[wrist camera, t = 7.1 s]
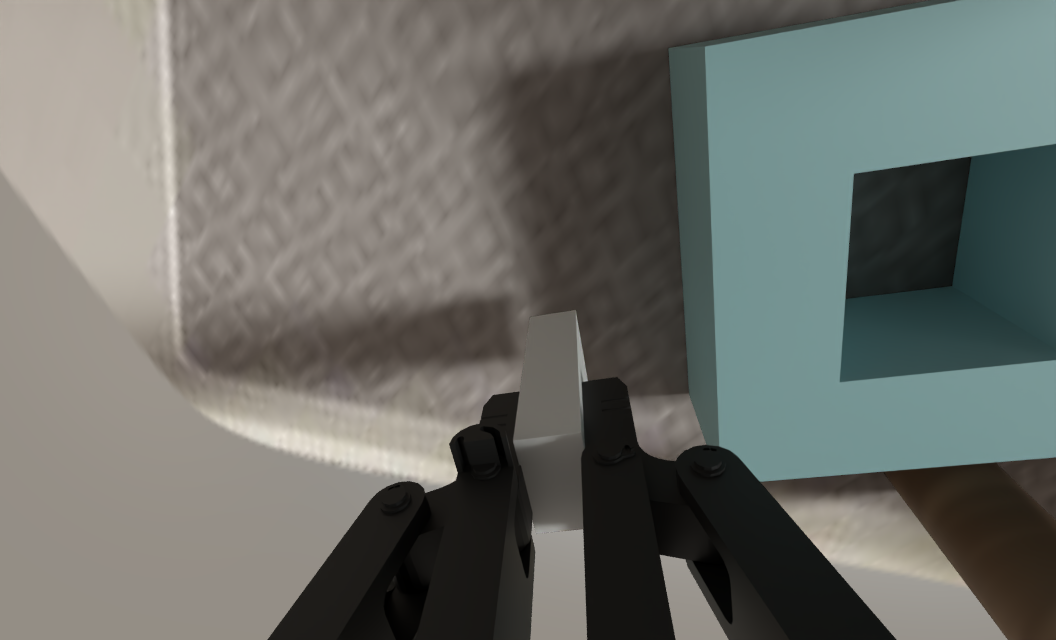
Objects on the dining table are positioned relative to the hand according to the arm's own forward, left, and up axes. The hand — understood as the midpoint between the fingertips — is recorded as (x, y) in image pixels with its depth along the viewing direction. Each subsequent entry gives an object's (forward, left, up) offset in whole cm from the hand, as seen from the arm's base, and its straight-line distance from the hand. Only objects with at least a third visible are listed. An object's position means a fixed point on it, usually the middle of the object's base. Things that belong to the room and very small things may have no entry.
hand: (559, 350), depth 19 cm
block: (-2, +10, -2) cm, 11 cm away
